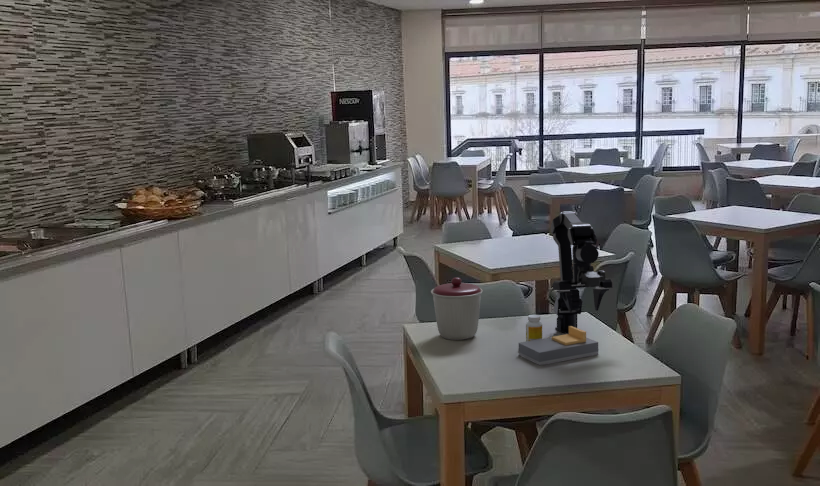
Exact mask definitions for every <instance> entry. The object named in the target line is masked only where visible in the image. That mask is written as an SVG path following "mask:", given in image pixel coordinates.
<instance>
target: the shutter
mask: <svg viewBox="0 0 820 486" xmlns="http://www.w3.org/2000/svg"><path fill="white" fill-rule="evenodd" d="M551 337H552V340H555V341H557V342H559V343H562V344H564V345H570V344H576V343H582V342H586V338H587V331H586V330H583V329H581V328H578V327H577V328H576V327H573V326H569V333H564V334H561V335H555V336H554V335H553V336H551Z"/></svg>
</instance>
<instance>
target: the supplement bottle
mask: <svg viewBox="0 0 820 486" xmlns="http://www.w3.org/2000/svg"><path fill="white" fill-rule="evenodd" d="M527 320H528V321H527V322H526V323H525V342H527V341H533V340H539V339H543V323H542V321H541V316H540V314H529V315H528V316H527Z"/></svg>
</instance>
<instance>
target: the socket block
mask: <svg viewBox="0 0 820 486" xmlns="http://www.w3.org/2000/svg"><path fill="white" fill-rule="evenodd" d="M552 337H553V336H551V337H545V338H542V339H539V340H533V341H527V342H526V341H521V342H518V356H520V357H522V358H524V359H526V360H528V361H530V362H532V363H534V364H536V365H538V366H543V365H548V364H549V365H550V364H554V363H559V362H566V361H570V360H575V359H581V358H585V357H592V356H596V355H599V342H598V341H596V340H594V339H592V338H589V337H586V342H582V343H576V344H570V345H564V344H562V343H559V342H557V341H555V340H552Z"/></svg>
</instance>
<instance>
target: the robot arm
mask: <svg viewBox="0 0 820 486" xmlns="http://www.w3.org/2000/svg"><path fill="white" fill-rule="evenodd" d="M550 233H551V235H552V239H553V241H554V242H555V244H556V245H557V248H558V261H559V262H558V263H559V275H560V280H555V281H553V283H552V290H553V291H556V299H555V302H554V305H553V309H554V310H553V311H554V313H555V314H556V316H557V317H556V326H555V328H554V329H555V330H557V331H559V332H561V333H563V334H569V326H573V327H576V328H578V315H581V314H582V309H583V308H582V307H583V304H584V301H583V300H582V297H581V296H580V290H579V289H578V288H592V290H593V293H592V294H593V303H594V310H595V311H596V312H597V311H599V309H600V305H601V303H602V300H603V297H604V295H605V293H606V292H607V291H610V288H611V289H612V288H613V287H614V283H613V280H612V279H611V278H606V276H607V275H606V271H604V270H597V271H595V270H594V266H593V265H592V264H594V263H595V262H596V261H597V260H598V259H599V256H600V255H599V254H600V253H599V251H598V249H597V247H596V246H594V245H597V242H598V238H597V234H596V232H595V230H594V228H593V227H592V225H591V224H590V223H588V222H583V221H581V220H580V219H579V217H578V216H577V214H576V211H574V210H570V211H567V210H566V211H565V210H564V211H561V212H559V214H558V216H555V218H553V219H552V221H551V225H550Z"/></svg>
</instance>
